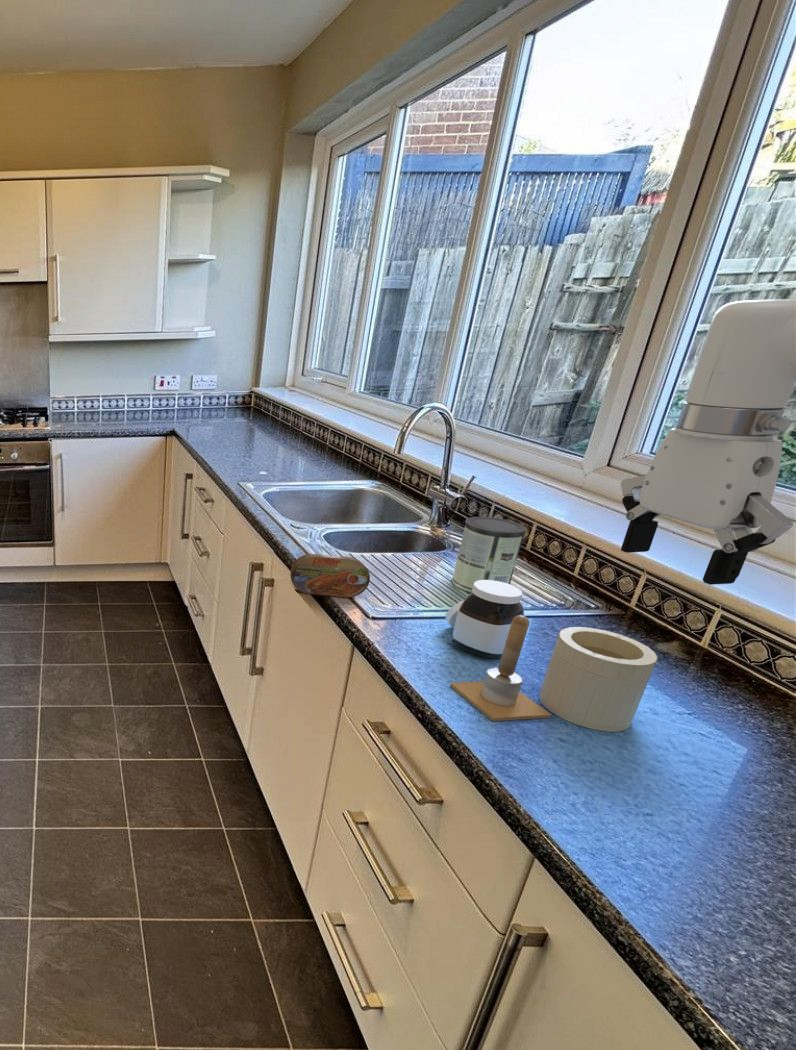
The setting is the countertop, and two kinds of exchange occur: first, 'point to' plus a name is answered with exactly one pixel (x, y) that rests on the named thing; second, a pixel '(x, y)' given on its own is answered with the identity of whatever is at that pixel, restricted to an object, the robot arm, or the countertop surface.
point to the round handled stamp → (507, 667)
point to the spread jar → (485, 617)
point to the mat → (495, 712)
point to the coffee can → (487, 551)
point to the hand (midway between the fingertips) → (673, 566)
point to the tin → (330, 575)
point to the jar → (596, 678)
